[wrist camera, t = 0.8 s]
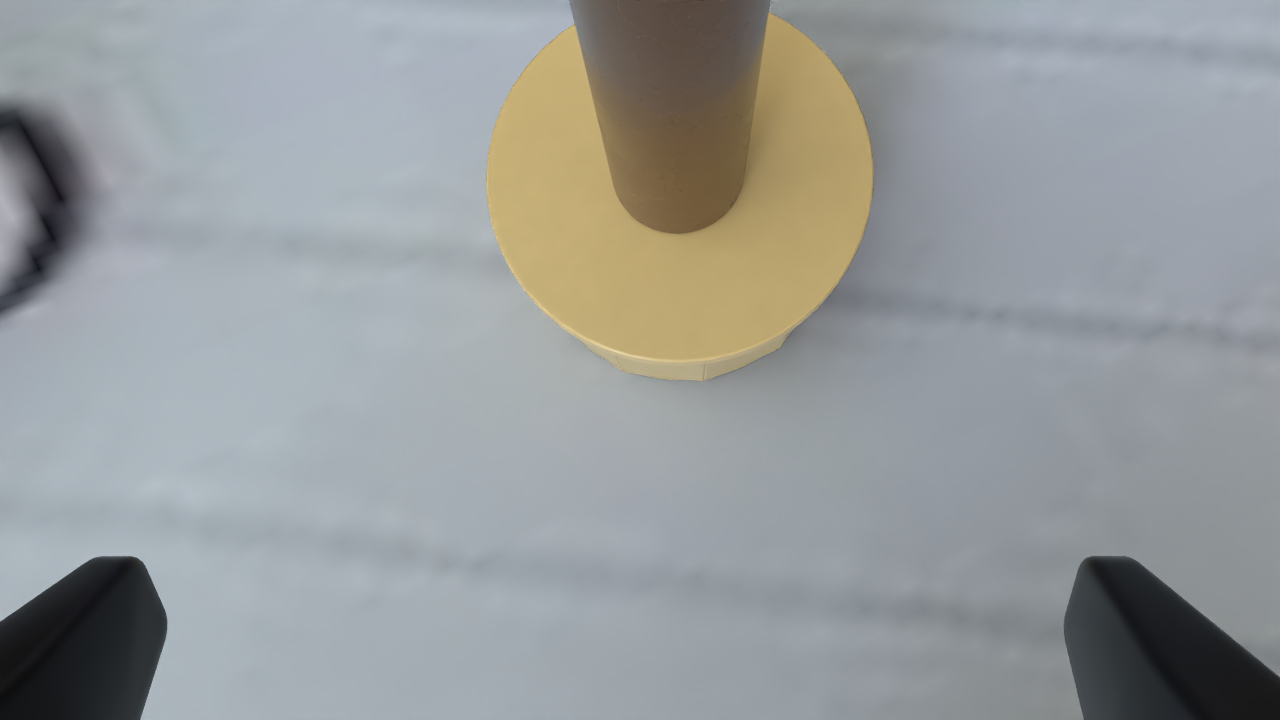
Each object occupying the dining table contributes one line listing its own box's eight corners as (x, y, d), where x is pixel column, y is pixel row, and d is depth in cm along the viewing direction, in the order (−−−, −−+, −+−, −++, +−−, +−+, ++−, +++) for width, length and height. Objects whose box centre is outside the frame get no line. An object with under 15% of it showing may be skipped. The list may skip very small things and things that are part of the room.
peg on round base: (937, 149, 20) (1197, -250, 10) (719, 447, 20) (747, 358, 9) (641, -46, 21) (591, -593, 11) (423, 229, 21) (144, -74, 10)
